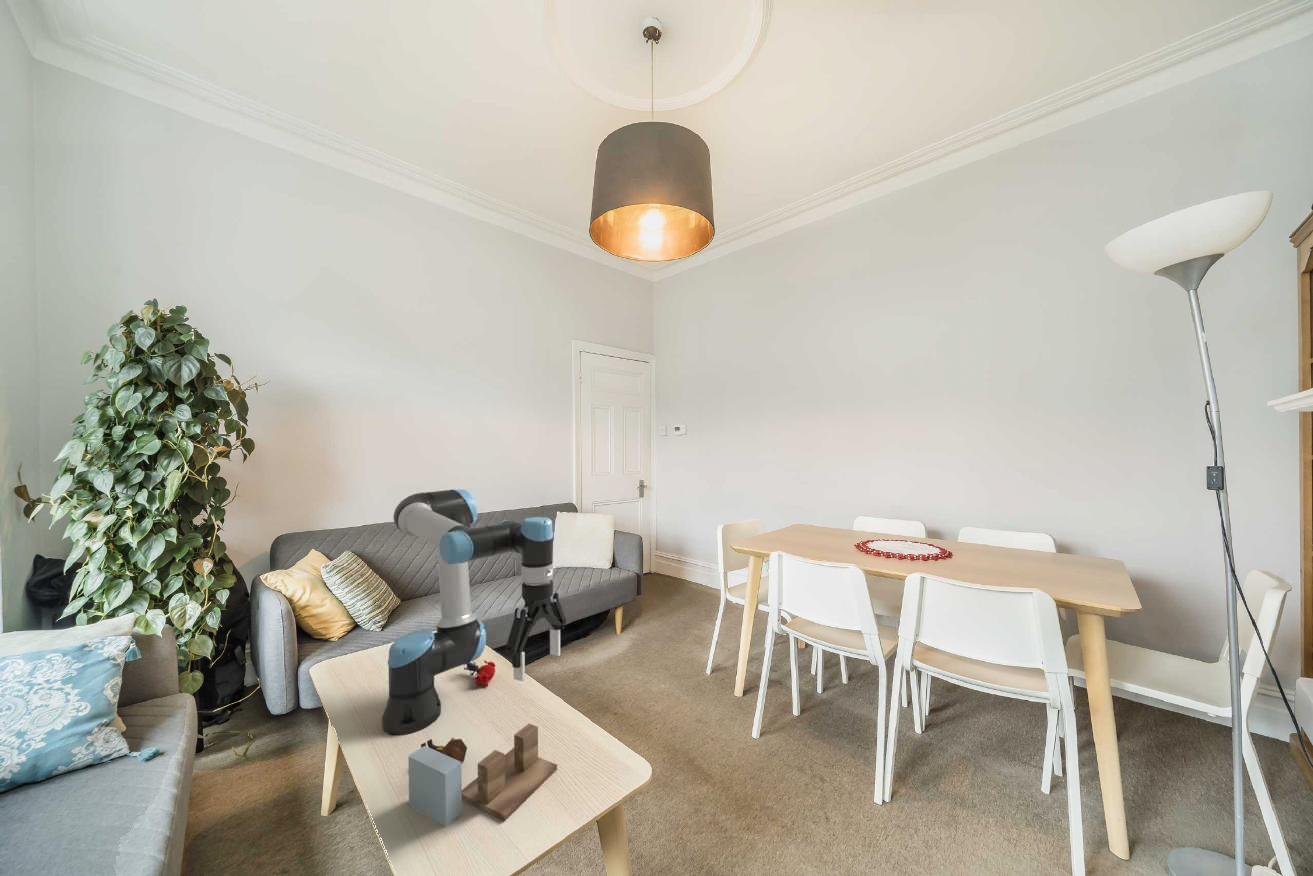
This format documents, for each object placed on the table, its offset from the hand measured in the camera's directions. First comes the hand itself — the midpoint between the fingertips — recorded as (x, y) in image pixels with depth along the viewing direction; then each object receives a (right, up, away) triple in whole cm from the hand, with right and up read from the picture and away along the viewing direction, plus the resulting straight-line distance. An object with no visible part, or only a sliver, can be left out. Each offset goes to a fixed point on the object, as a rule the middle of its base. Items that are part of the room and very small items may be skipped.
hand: (538, 666), depth 115 cm
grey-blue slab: (-19, -25, -14) cm, 34 cm away
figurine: (-30, -25, +40) cm, 56 cm away
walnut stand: (-5, -24, -6) cm, 25 cm away
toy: (-25, -25, +2) cm, 35 cm away
